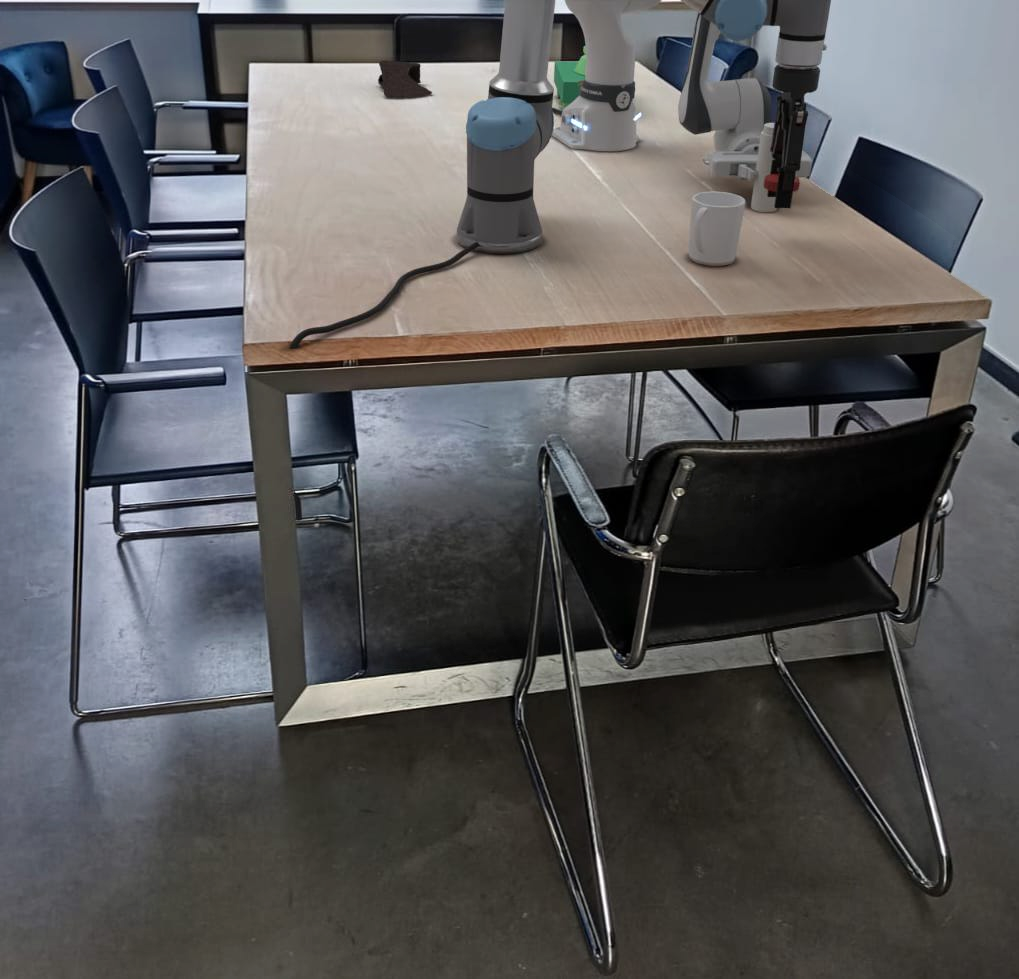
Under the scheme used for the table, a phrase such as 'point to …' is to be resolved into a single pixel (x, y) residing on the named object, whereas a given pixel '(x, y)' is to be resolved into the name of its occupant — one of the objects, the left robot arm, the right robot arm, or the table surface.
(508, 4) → the left robot arm
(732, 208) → the mug
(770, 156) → the jar
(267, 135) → the table surface
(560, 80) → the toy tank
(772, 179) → the lid
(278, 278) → the table surface
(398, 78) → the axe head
